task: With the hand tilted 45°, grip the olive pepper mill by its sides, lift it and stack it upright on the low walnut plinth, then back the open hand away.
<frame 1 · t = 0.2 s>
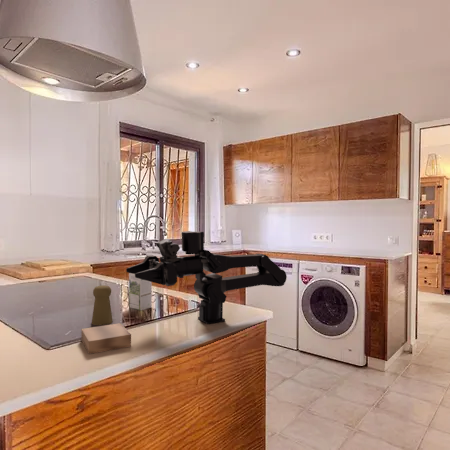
hand: (130, 272, 97), 17 cm above the counter, tool horizontal, fingers open, 9 cm apart
plinth: (105, 343, 90), on the counter
olive pepper mill: (102, 322, 107), on the counter
syrup box: (140, 308, 123), on the counter
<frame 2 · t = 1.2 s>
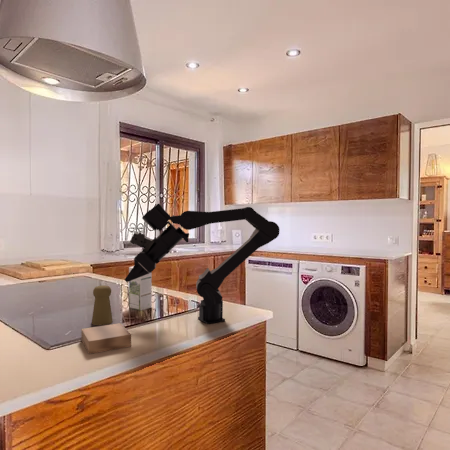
hand: (128, 278, 107), 13 cm above the counter, tool tilted 45°, fingers open, 9 cm apart
nothing on the counter moved.
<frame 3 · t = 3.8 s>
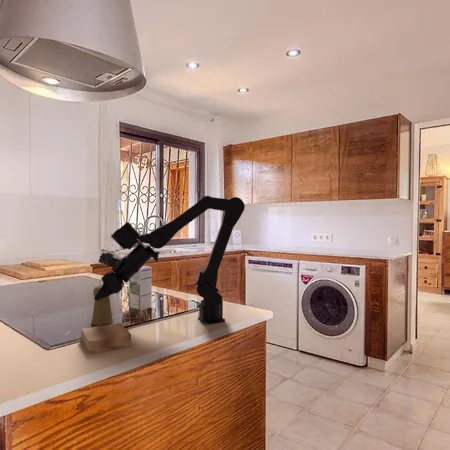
hand: (97, 297, 106), 8 cm above the counter, tool tilted 45°, fingers closed on olive pepper mill, 5 cm apart
olive pepper mill: (102, 322, 107), on the counter, touching gripper
everything else where it was.
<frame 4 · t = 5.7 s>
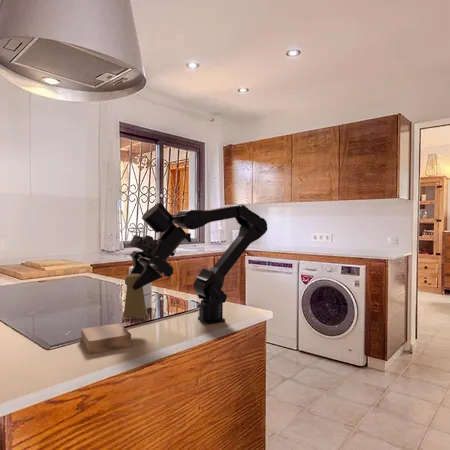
hand: (130, 287, 96), 13 cm above the counter, tool tilted 45°, fingers closed on olive pepper mill, 5 cm apart
olive pepper mill: (135, 314, 97), point 5 cm above the counter, touching gripper
everything else where it was.
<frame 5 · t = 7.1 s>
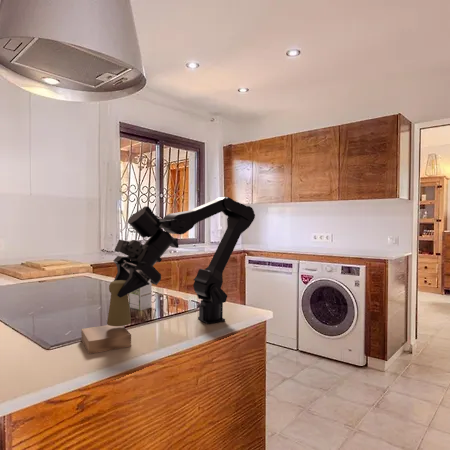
hand: (114, 294, 91), 12 cm above the counter, tool tilted 45°, fingers closed on olive pepper mill, 5 cm apart
olive pepper mill: (119, 323, 92), point 4 cm above the counter, touching gripper
everything else where it was.
when the fingers open (11 cm above the counter, at t = 8.1 s): olive pepper mill stays where it is, resting on plinth.
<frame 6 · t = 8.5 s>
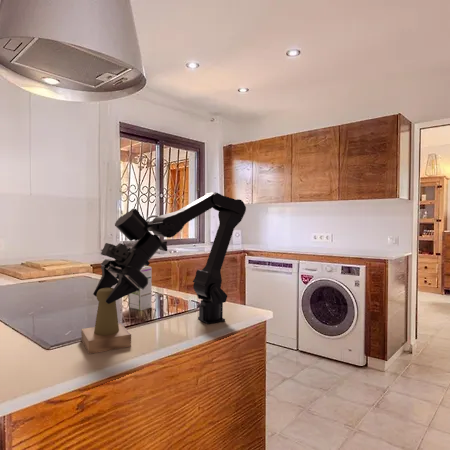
hand: (100, 299, 89), 12 cm above the counter, tool tilted 45°, fingers open, 9 cm apart
olive pepper mill: (106, 331, 90), point 3 cm above the counter, touching plinth
everything else where it was.
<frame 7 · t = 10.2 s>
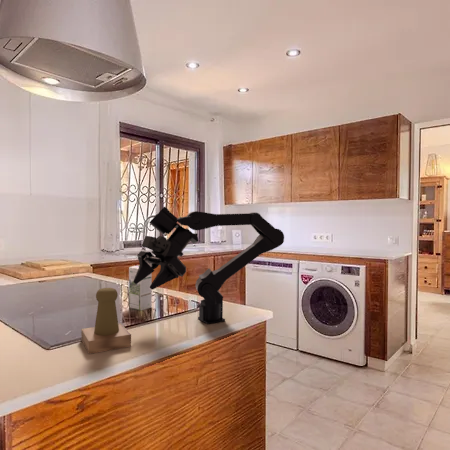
hand: (142, 285, 100), 13 cm above the counter, tool tilted 45°, fingers open, 9 cm apart
nothing on the counter moved.
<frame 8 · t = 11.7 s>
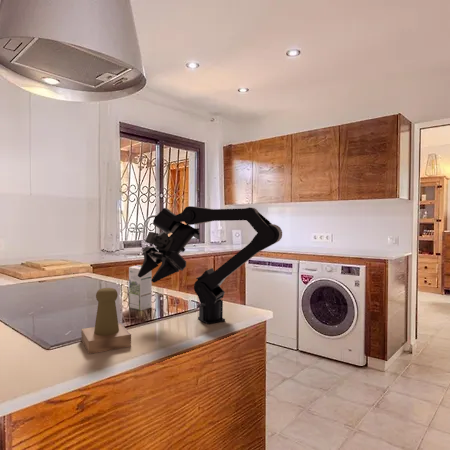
hand: (145, 279, 105), 14 cm above the counter, tool tilted 45°, fingers open, 9 cm apart
nothing on the counter moved.
at the end: olive pepper mill inside the target area on the plinth (0.2 cm from its centre), point 2.8 cm above the plinth's base; olive pepper mill tilted 0°; the gripper is holding nothing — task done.
